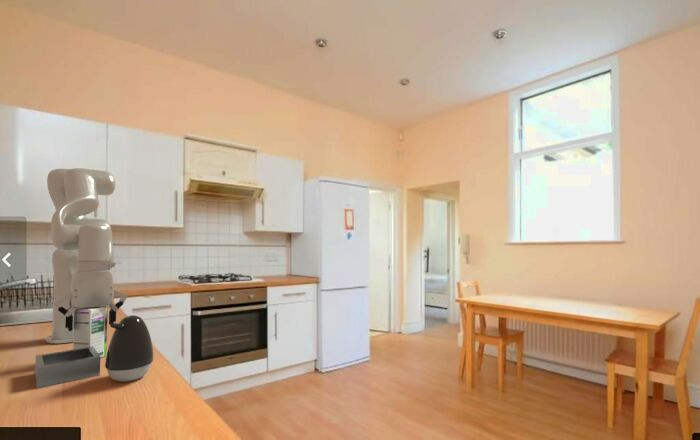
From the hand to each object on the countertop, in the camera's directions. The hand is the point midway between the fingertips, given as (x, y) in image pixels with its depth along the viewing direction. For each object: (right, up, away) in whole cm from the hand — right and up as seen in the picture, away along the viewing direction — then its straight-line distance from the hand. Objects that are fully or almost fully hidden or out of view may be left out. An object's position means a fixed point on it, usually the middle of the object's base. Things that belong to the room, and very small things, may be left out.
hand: (91, 327), depth 104 cm
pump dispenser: (+20, -8, -14) cm, 26 cm away
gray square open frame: (+3, -8, -12) cm, 15 cm away
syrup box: (0, -9, 0) cm, 9 cm away
